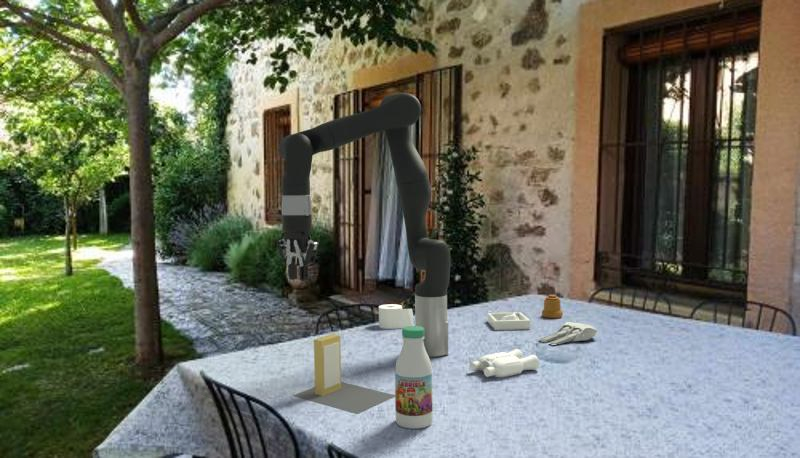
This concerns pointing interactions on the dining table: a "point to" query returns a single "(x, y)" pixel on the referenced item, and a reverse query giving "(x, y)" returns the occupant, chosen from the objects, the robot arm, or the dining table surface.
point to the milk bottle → (413, 381)
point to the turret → (571, 333)
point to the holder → (508, 321)
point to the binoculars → (505, 364)
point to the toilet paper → (394, 316)
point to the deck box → (327, 364)
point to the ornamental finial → (552, 307)
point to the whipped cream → (510, 317)
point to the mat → (348, 398)
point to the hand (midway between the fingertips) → (298, 279)
